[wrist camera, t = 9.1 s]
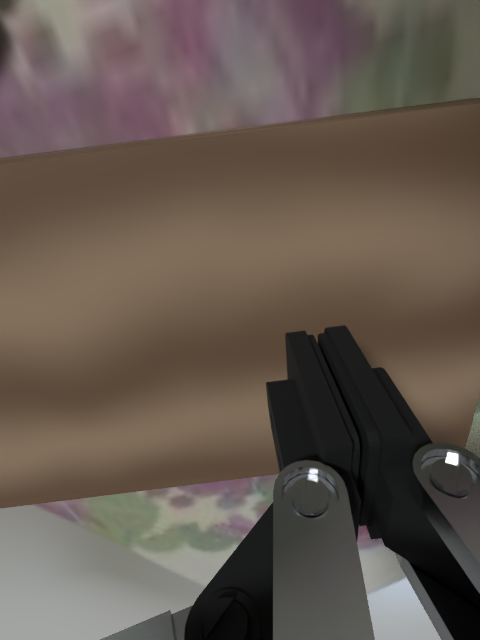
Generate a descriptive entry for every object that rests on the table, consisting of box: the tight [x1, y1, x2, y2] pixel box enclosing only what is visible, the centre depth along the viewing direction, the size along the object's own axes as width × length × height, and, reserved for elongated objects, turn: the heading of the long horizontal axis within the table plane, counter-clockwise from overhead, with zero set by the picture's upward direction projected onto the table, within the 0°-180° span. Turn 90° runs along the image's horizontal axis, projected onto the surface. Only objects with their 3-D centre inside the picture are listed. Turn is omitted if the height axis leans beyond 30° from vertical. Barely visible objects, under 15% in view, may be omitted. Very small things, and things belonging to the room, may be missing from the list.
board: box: [0, 98, 480, 508], centre depth 15 cm, size 14×22×4 cm, turn 96°
